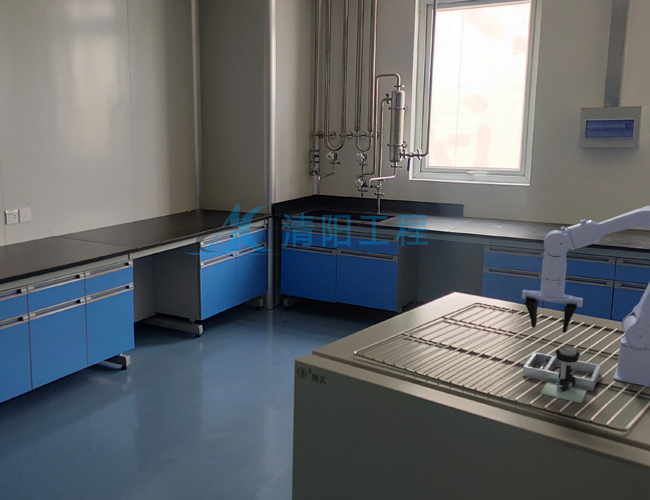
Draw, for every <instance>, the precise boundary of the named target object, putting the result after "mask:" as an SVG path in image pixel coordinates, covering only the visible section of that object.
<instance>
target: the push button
mask: <svg viewBox="0 0 650 500" xmlns="http://www.w3.org/2000/svg"><path fill="white" fill-rule="evenodd" d="M555 356H556V358H557V359H558V360H560V361H561V362H562V365H561V367H560V371H559V372H558V373H559V379H558V380H557V383H556V384H557V386H556V387H557V390H556V391H558V390H559V391H563V392H564V391H566V390H567V389H569V390H571V389H572V388H573V387H574V380H575V377H573V376H574V375H573V373H572V371H573V370H571V367H572V363H574V362H577V361H579V357H580V356H581V354H580V352H578V351H577V349H576V348H575V347H573V346H569V345H562V346H560V347H559V348H558V349H556V350H555ZM574 388H575V387H574ZM559 391H558V392H559Z"/></svg>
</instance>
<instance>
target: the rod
mask: <svg viewBox="0 0 650 500" xmlns="http://www.w3.org/2000/svg"><path fill="white" fill-rule="evenodd" d="M547 364H548V362H547V361H544V362H543V363H542V364H541V365H540V366H539V368H538V369H543V370H544V369H545V367H546V366H547Z"/></svg>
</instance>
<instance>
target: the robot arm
mask: <svg viewBox="0 0 650 500" xmlns="http://www.w3.org/2000/svg"><path fill="white" fill-rule="evenodd" d="M579 222H580V223H577V224H574V225H570V226H568V227H565V226H561V227H560V230H558V229H555V230H550V231H548V233H547V234H546V235H545V237H544V239H543V247H544V252H543V259H542V265H541V266H542V267H541V277H540V279H541V281H540V290H530V289H529V290H528V289H523V290H522V291H521V300H522V299H524V300H525V301H524V305H525V308H526V309H527V311H528V314H529V317H530V318H529V319H530V323H531V328H536V327H537V320H538V319H537V318H538V306H539V301H541V302H549V303H556V304H563V305H565V306H564V309H563V312H564V313H563V314H564V316H563V324H562V325H563V326H562V333H565V334H566V333H567V331H568V327H569V325H570V321H571V319H572V317H573V316H574V313H575V311H576V310H577V308H582V306H583V303H584V302H583V301H584V298H583V297H578V296H573V295H569V294H566V293H565V288H566V287H565V285H566V278H567V277H566V275H567V265H568V264H567V253H568V252H569V250H573V251H574V250H577V249H580V248H584V247H587V246H591V245H592V244H596V243H599V242H600V241H601V238H602V237H603V236H605V235H609V234H613V233H617V232H620V231H625V230H628V229H632V228H635V227H642V228H646V229H650V205H646V206H644V207H640V208H637V209H634V210H631V211H629V212H625V213H623V214H620V215H617V216H615V217H611V218H608V219H606V220H603V221H600V222H597V221H594V220H592V219H590V220H586V219H585V218H584V219H581V220H580V221H579ZM621 322H622V323H621V328H622V330H623V332H624V334H623V335H624V336H623V337H621V338H620V342H619V350H618V360H617V366H616V369H615V372H614V374H613V380H615V381H620V382H623V383H624V382H625V383H629V384H634V385H640V386H645V387H649V388H650V281H649V282H648V285H647V287H646V288H645V291H644V292H643V294H642V296H641V297H640V301H639V303H637V304H636V305H635V306H634V307H633V308H632V310H631V312H630V313H628V314H627V315H626V316H625V317H624V318H623V320H622V321H621Z"/></svg>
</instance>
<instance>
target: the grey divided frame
mask: <svg viewBox="0 0 650 500" xmlns="http://www.w3.org/2000/svg"><path fill="white" fill-rule="evenodd" d="M556 356H557V355H551V354H547V353H542V352H541V353H540V352H534V351H533V353H532V354H531V356H530V357H529V358H528V360H527V361H526V362H525V364H524V365H523V369H522V377H525V378H531V379H535V380H540V381H544V382H551V383H556V384H557V380H558V379H559V372H557V371H553V370H554V368H555V367H558V368H561V365H562V362H561V361H560V360H558V359H557V358H556ZM544 361H547V362H548V364H547V366H546V367H545V369H544V370H543V369H539V368H537V367H535V365H536V363H537V364H541V365H542V363H543V362H544ZM601 366H602V365H601V364H598V363H594V362H588V361H582V360H578V361H577V362H574V363H572V367H571V370H572V371H577V372H582V373H587V374H592V375H591V377H590V378H586V377H582V376H577V375H573V377H575V380H574V388H579V389H584V390H587V391H591V392H593V391H594V390H595V386H596V384H597V381H598V379H599V377H600V374H601Z"/></svg>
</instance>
